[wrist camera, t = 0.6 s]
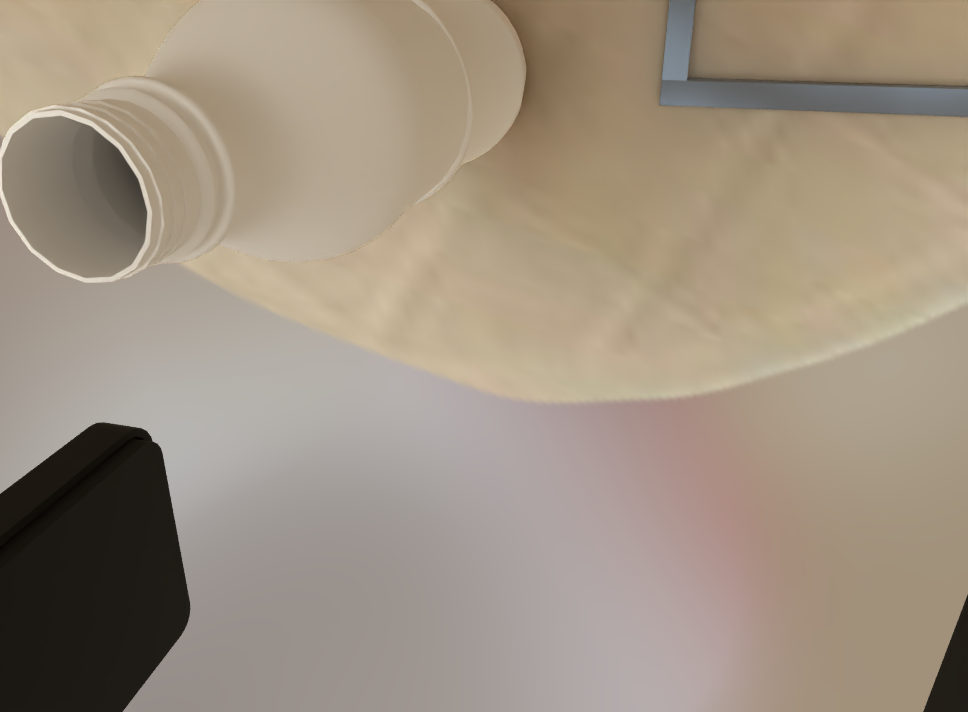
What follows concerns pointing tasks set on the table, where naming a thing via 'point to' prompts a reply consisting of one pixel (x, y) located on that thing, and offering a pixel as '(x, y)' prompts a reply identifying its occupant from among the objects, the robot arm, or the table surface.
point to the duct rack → (791, 85)
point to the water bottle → (264, 134)
